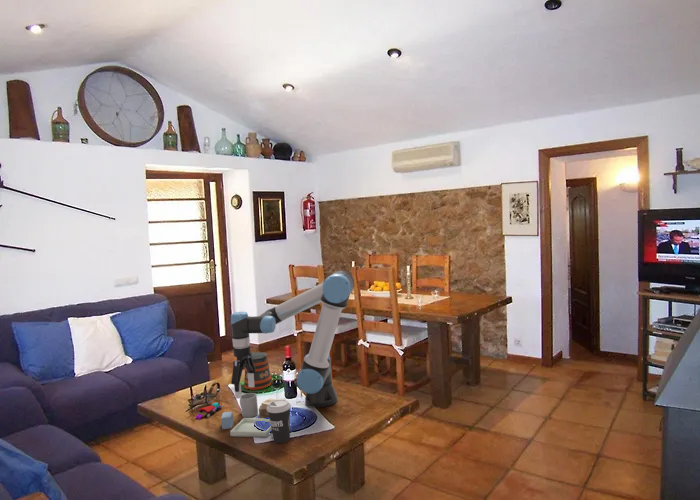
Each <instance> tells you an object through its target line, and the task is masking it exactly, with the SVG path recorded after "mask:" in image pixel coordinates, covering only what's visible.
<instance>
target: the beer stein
mask: <svg viewBox="0 0 700 500" xmlns="http://www.w3.org/2000/svg"><path fill="white" fill-rule="evenodd" d="M251 355H252V359H253V362H254V365H255V368H256V369H255V370H256V372H255V373H254V386H255V387H249V386H248V373H249V372H248V371H247V369H246V368H245V367H244V370H243V371H244V378H243V381H244V385H243V387H244V388H245V389H246V390H248V389H250V390H249V391H260V390H264V388H265V389H267V388H266V387H268V386H269V387H270V385H271V381H272V382H273V379H272V375H271V371H270V363H269V358H268V354H267V353H265V352H262V351H261V352H257V351H256V352H253V351H251ZM271 386H272V385H271ZM269 387H268V388H269Z"/></svg>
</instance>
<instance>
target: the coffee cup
mask: <svg viewBox="0 0 700 500" xmlns="http://www.w3.org/2000/svg"><path fill="white" fill-rule="evenodd" d="M291 408H292V405H291V403H290V402H289V400H288V399H285V398H279V399H277V400H273V401H271V402H269V404H268V406H267V411H268V414H269V419H270V424H271V430H272V432H271V435H272V440H273V442H274V443H276V444H284V443H287V442H289V441H290V440H291V425H290V424H291V422H290V421H291V417H290V416H291V414H290V413H291Z"/></svg>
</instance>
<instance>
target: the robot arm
mask: <svg viewBox="0 0 700 500" xmlns="http://www.w3.org/2000/svg"><path fill="white" fill-rule="evenodd" d="M354 287H355V279H354V277H353V276H352V274H351V273H350V272H348V271H347V270H337V271H335V272H333V273H332V274H330V275H329V276H327V277H326V278H325V279H323V280H322V282H321V283H319V284H318V285H316V286H314V287H312V288H310V289H308V290H306V291H303V292H302V293H299V294H298V295H296V296H294V297H292V298H290V299H288V300H286V301H284V302H282V303H280V304H278V305H276V306H274V307H272V308H269V309H267V310H265V312H263V313H261V314H260V315H257V316H249V314H248V312H247V311H236V312H233V313H231V315H230V329H231V334H232V335H231V336H232V337H231V338H232V340H231V342H232V347H233V349H232V350H233V351H232V352H233V356H234V357H236V360H235V361H234V360H233V362H232V364H233V365H232V366H233V367H232V373H231V374H232V375H231V383H230V384H231V385H234V387H233V388H234V397H235V399H239V400H240V399H241V398H242V395H243V394H242V385H241V379H242V374H243V371H245V370H244V367H245V368H246V369H247V371H248V372H249V373H248V386H249V387H255V386H254V373H255V372H256V370H255V369H256V368H255V365H254V362H253V359H252V355H251V352H252V351H251V342H250V341H251V340H250V334H271V333H274V332H275V330H276V325H277V324H279V323H281V322H283V321H285V320H287V319H289V318H291V317H293V316H295V315H298V314H299V313H301V312H303V311H306V310H308V309H310V308H312V307H314V306H315V305H316V306H317V305H318V304H320V303H321V304H322V307H321V311H320V313H319V316H318V320H317V325H316V328H315V330H314V334H313V338H312V341H311V344H310V345H311V346H310V349H309V351H308V353H307V354H306V355H305V356H304V358H303V359H302V364H301V367H300V369H299V372H298V374H297V376H296V384H297V386H298V388H299V389H300V391H302V392H303V393H305V397H304V401H305V402H304V403H305V405H306V406H307V407H310V408H325V407H329V406H331V405H334V404H336V403H337V401H338V393H337V392H336V391H337V390H335V389H336V388H335V387H334V385H333V376H332V365H331V364H332V363H331V361H332V360H331V355H330V351H331V349H332V345H333V341H334V339H335V334H336V333H337V328H338V324H339V321H340V317H341V315H342V311H343V310H344V309H346V308H347V306H348V303H349V301H350V300H349V299H350V295H351V293H352V291H354Z"/></svg>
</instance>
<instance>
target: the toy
mask: <svg viewBox="0 0 700 500" xmlns="http://www.w3.org/2000/svg"><path fill="white" fill-rule="evenodd" d="M224 406H225V405H223V404H222V403H220V402H213V403H212V404H211V405H208V406H207V405H206V406H205V407H200V408H197V411H198V412H197V415H196V416H195V420H197V419H198V420H199V421H201V419H202V418H204V417H205V416H206V417H207V418H209V417H210V416H213V414H214V413H215V412H216V411H217V410H219V409H221V408H223V407H224Z"/></svg>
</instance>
